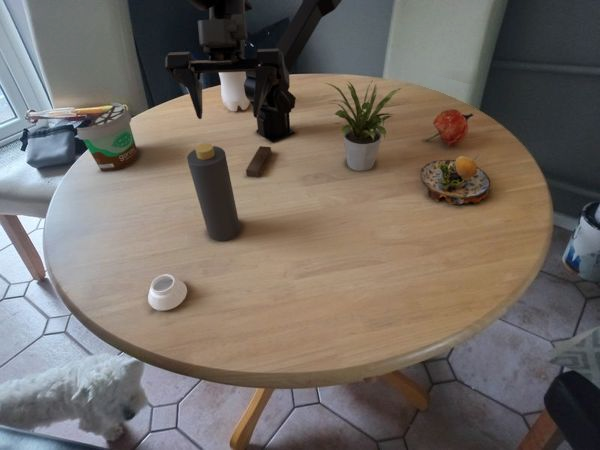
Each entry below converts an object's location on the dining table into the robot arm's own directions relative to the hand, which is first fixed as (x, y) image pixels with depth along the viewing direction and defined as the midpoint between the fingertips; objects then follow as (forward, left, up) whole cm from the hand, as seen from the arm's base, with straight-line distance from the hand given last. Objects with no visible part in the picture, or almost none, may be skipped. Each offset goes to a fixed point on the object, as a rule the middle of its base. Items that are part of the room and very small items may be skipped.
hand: (227, 117), depth 60 cm
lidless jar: (+21, +16, -14) cm, 30 cm away
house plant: (-21, +9, -14) cm, 27 cm away
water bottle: (-18, -30, -14) cm, 38 cm away
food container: (+13, -24, -14) cm, 31 cm away
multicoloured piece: (-29, +26, -14) cm, 41 cm away
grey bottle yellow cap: (+8, +9, -14) cm, 18 cm away
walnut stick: (-7, -4, -14) cm, 16 cm away
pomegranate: (-41, +16, -14) cm, 46 cm away
